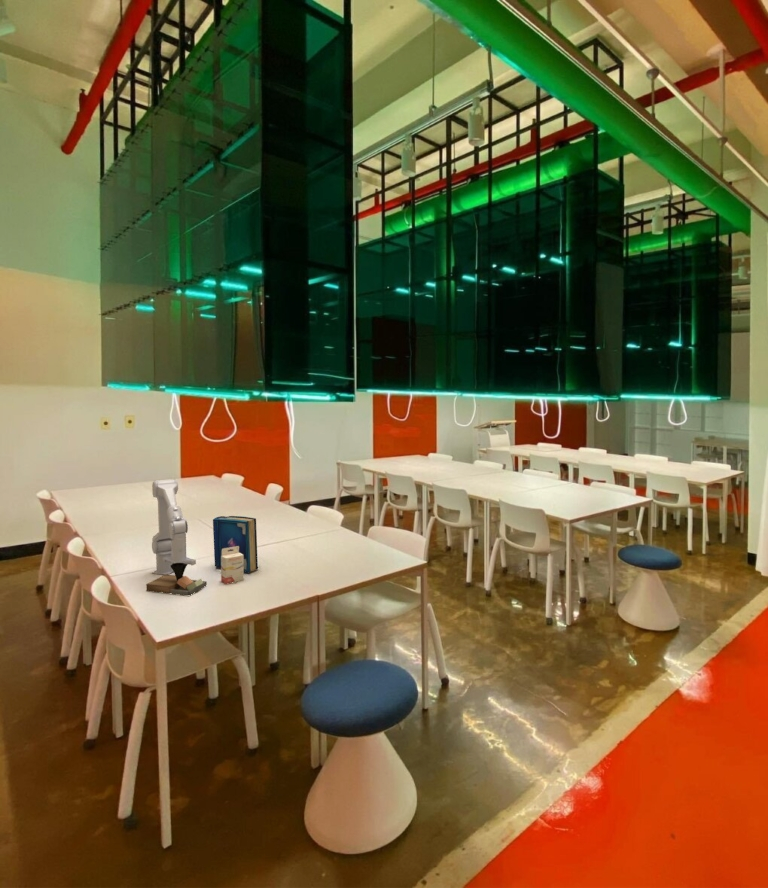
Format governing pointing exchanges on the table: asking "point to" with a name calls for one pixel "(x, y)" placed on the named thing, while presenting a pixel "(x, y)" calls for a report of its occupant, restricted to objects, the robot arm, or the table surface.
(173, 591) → the tray
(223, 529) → the book
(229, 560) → the ink cartridge box
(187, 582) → the tile
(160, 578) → the plate
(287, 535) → the table surface
